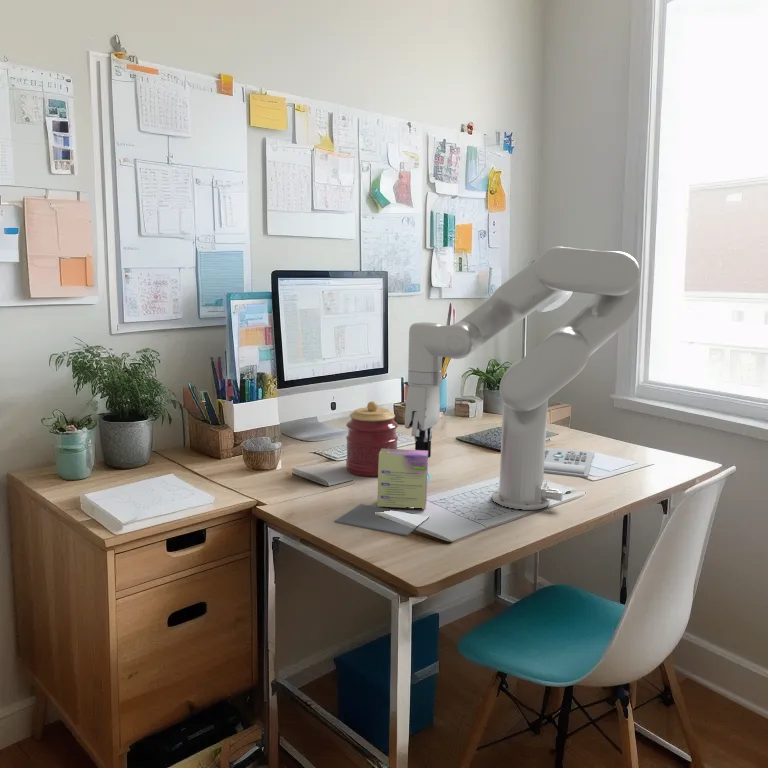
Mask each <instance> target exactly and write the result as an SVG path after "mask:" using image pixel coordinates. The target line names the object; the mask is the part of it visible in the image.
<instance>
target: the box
mask: <svg viewBox="0 0 768 768" xmlns="http://www.w3.org/2000/svg"><path fill="white" fill-rule="evenodd" d="M428 466H429V458H428V451H424V450H415V449H403V448H402V449H399V448H397V449H384V448H382V449H381V451H380V452H379V464H378V476H377V503H376V505H377V506H376V507H381V508H401V509H402V508H403V509H407V508H406V507H414V508H422V509H421V510H426V508H427V507H426V506H427V496H428V495H427V493H428V492H427V491H428V470H429V469H428ZM414 508H413V509H414Z"/></svg>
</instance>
